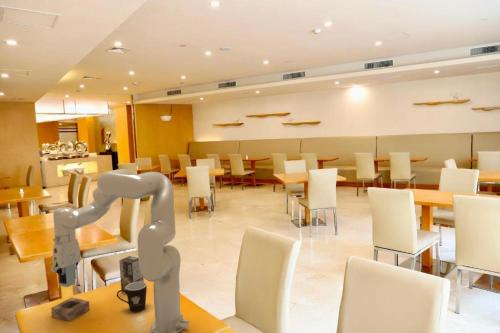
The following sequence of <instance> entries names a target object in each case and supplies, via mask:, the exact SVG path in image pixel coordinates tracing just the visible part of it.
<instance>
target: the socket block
mask: <svg viewBox="0 0 500 333" xmlns="http://www.w3.org/2000/svg"><path fill="white" fill-rule="evenodd" d="M50 309H51V318H53V319H54V318H55V319H57V320H61V321H67V322H72V321H74V320H75V319H77V318H79V317H80V316H82V315H84V314H86V313H87V312H89V311H90V310H91V309H90V301H89V300H87V299H82V298H76V297H70V298H68V299H66V300H63V301H61V302H60V303H58V304H56V305H54V306H52V307H51V308H50Z"/></svg>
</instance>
